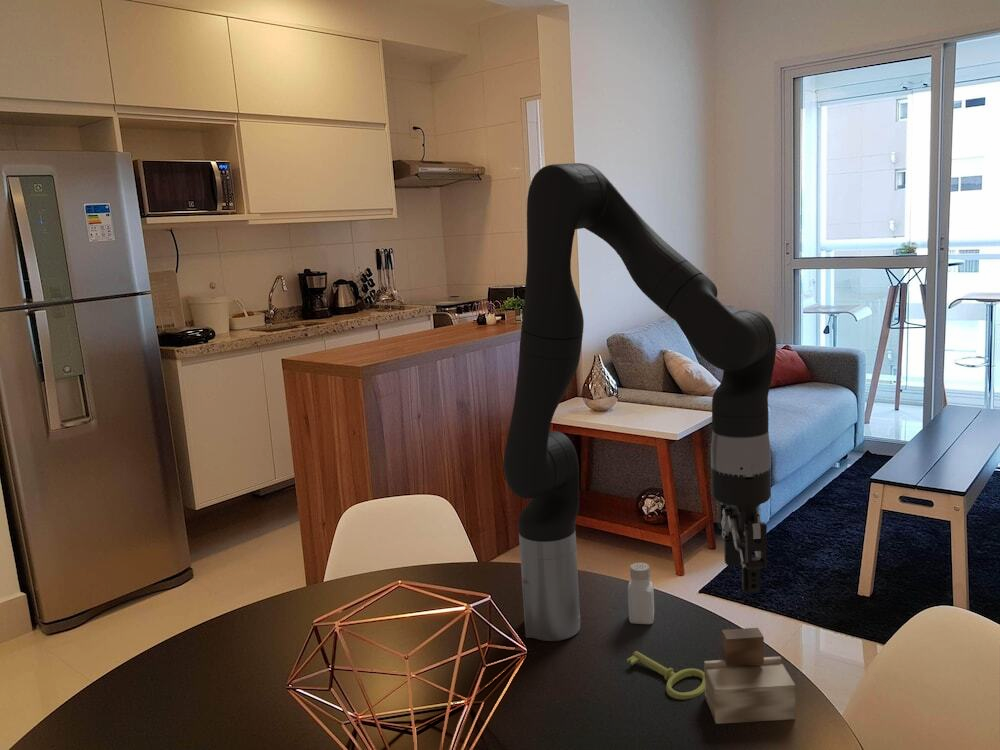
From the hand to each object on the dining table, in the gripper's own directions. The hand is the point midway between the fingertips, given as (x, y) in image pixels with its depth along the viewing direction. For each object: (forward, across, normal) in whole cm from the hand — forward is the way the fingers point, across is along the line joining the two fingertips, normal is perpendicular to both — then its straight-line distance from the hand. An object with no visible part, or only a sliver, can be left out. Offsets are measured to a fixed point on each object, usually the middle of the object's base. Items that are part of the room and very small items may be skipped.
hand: (741, 578), depth 110 cm
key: (+18, -6, -9) cm, 21 cm away
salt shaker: (+18, -23, -10) cm, 31 cm away
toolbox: (+18, +3, 0) cm, 18 cm away
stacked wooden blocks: (+17, +1, 0) cm, 17 cm away
